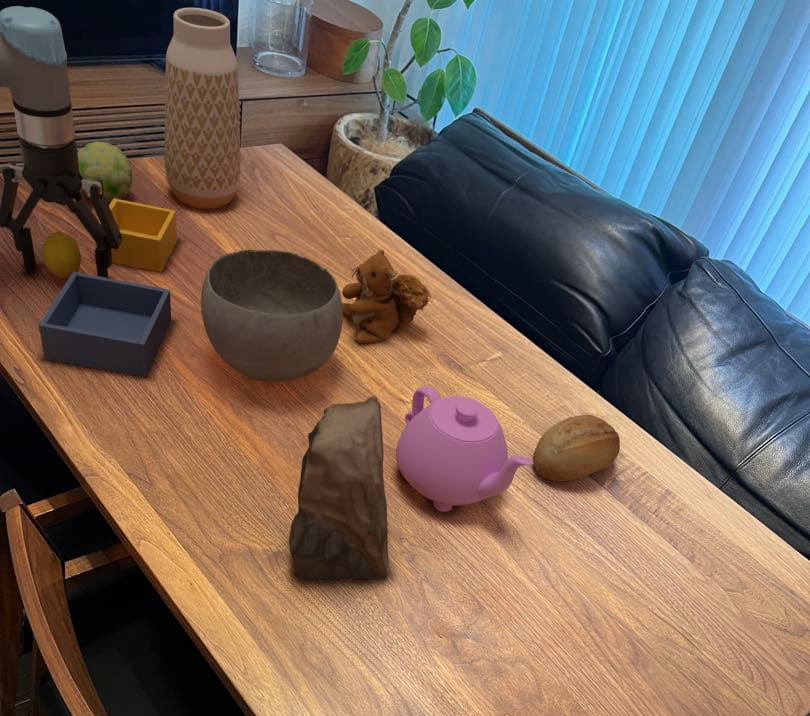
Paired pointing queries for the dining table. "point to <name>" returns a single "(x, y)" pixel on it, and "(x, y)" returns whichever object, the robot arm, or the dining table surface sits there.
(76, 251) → the lemon
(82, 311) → the blue bin
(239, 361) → the bowl
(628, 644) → the dining table surface
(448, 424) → the teapot
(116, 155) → the decorative ball
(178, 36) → the vase
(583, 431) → the bread roll
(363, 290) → the stuffed squirrel
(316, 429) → the jagged boulder chunk
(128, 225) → the yellow bin
